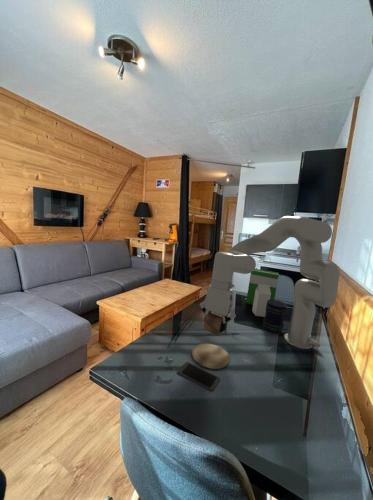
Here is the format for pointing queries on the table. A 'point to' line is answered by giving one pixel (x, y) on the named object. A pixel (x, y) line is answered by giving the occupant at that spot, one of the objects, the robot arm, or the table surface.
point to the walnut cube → (213, 323)
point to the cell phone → (199, 376)
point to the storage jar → (274, 316)
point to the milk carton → (261, 300)
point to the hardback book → (261, 283)
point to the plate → (210, 356)
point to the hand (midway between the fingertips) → (214, 327)
